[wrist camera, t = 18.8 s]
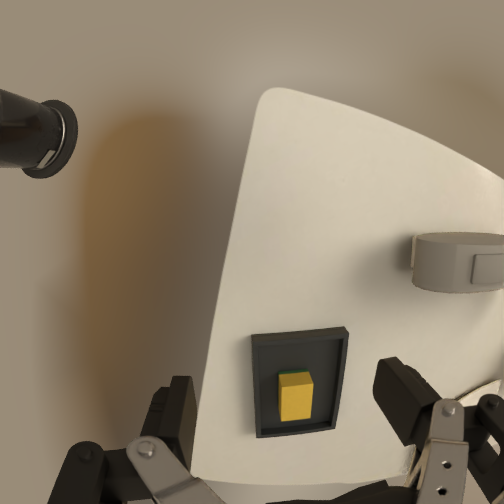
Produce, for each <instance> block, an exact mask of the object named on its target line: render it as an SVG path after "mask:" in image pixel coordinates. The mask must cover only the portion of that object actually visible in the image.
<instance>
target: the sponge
mask: <svg viewBox="0 0 504 504" xmlns="http://www.w3.org/2000/svg"><path fill="white" fill-rule="evenodd" d="M312 394H313V381H312V379H311V376H310V374H309V371H308V369H300V370H291V371H280V372H278V409H279V414H280V419H281V421H290V420H299V419H306V418H310V415H311V405H312Z"/></svg>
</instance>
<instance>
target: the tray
mask: <svg viewBox="0 0 504 504" xmlns="http://www.w3.org/2000/svg"><path fill="white" fill-rule="evenodd" d="M348 337H349V332H348V331H347V330H346V328H345V327H336V328H327V329H318V330H308V331H296V332H284V333H271V334H255V335H251V338H252V360H253V382H254V403H255V424H256V438H268V437H279V436H289V435H297V434H305V433H312V432H319V431H325V430H331V429H335V426H336V421H337V416H338V410H339V404H340V398H341V392H342V385H343V379H344V371H345V364H346V356H347V347H348ZM300 369H308V371H309V374H310V376H311V379H312V381H313V394H312V405H311V415H310V418H306V419H299V420H290V421H281V419H280V414H279V409H278V372H280V371H291V370H300Z"/></svg>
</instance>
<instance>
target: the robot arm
mask: <svg viewBox="0 0 504 504" xmlns="http://www.w3.org/2000/svg"><path fill="white" fill-rule="evenodd" d="M66 136H67V125H66V120H65V118H64V116H63V114H62V113H61V112H60V111H59V110H57V109H55V108H53V107H48V106H46V105H43V104H41V103H38V102H35V101H33V100H30V99H27V98H24V97H22V96H19V95H16V94H13V93H10V92H8V91H5V90H2V89H0V168H23V169H33V170H41V169H45V168H47V167H49V166H50V165H51V164H52V163H54V162H55V160H56V159H57V158H58V157H59V155H60V153H61V151H62V149H63V147H64V144H65V141H66ZM373 396H374V399H375V401H376V402H377V404H378V405H379V407H380V409H381V410H382V412H383V413H384V415H385V416H386V418H387V420H388V421H389V423H390V424H391V426H392V428H393V429H394V431H395V432H396V434H397V435H398V437H399V439H400V440H401V442H402V443H403V445H404V447H405V446H408V445H411V444H415V445H416V448H415V450H414V453H413V457H412V460H411V464H410V467H409V471H408V474H407V477H406V481H405V483H404V486H388V484H387V482H386V480H383V481H379V482H376V483H372V484H369V485H366V486H362V487H358V488H357V489H354V490H352V491H350V492H348V493H346V494H344V495H342V496H339V497H337V498H335V499H332V500H291V501H282V502H272V503H266V504H462V502H463V496H464V489H465V482H466V473H467V468H468V469H469V471H470V472H471V474H472V475H473V477H474V479H475V480H476V482H477V484H478V485H479V487H480V488H481V490H482V492H483V493H484V495H485V496H486V498H487V500H488V501H489V503H490V504H504V400H503V399H502V398H501V397H500V396H498V395H495V394H485V395H483V396H481V397H480V399H479V401H478V403H477V405H473V406H465V407H463V406H462V404H461V403H460V402H458V401H456V400H453V399H442V398H441V397H440V396H439V394H438V393H437V392H436V391H435V390H434V389H433V388H432V387H431V386H430V385H429V384H428V382H427V383H426V380H425V379H424V378H423V377H421V375H420V374H419V373H418V372H417V371H416V370H415V369H413V368H412V367H410V366H408V365H404V364H403V363H402V362H401V361H400V360H399V359H398V358H397V357H390V358H385V359H381V360H379V362H378V365H377V370H376V375H375V379H374V384H373ZM196 420H197V405H196V399H195V393H194V388H193V381H192V377H191V376H173V377H172V381H171V384H170V387H161V388H160V389H159V390H158V391H157V392H156V393H155V394H154V395H153V398H152V401H151V405H150V407H149V411H148V413H147V416H146V419H145V422H144V425H143V428H142V431H141V434H140V437H139V438H136V439H134V440H132V441H131V442H130V443H129V444H128V446H127V448H124V449H119V450H109V451H103V449H102V448H101V446H100V445H98V444H96V443H94V442H90V441H83V442H79V443H77V444H75V445H73V446H72V447H71V448H70V449H69V451H68V454H67V456H66V458H65V460H64V463H63V465H62V467H61V470H60V473H59V475H58V477H57V480H56V482H55V485H54V487H53V490H52V493H51V495H50V498H49V501H48V503H47V504H127V501H134V500H142V499H151V500H152V502H153V503H154V504H226V503H225V502H224V501H223V500H222V499H221V498H220V497H219V496H218V495H217V494H216V493H215V492H214V491H213V490H212V489H211V488H210V487H209V486H208V485H207V484H206V483H205V482H204V481H203V480H202V479H200V478H198V477H197V478H194V477H193V476H192V475H191V474H190V469H191V460H192V452H193V443H194V435H195V427H196ZM490 435H492V437H493V438H494V439H495V440H496V441H497V443H498V444H499V446H500V454H499V456H498V454H497V453H496V452H495V450H494V449H493V448H492V446H491V445H490V444H489V443H488V441H487V440H488V438H489V437H490Z"/></svg>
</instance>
